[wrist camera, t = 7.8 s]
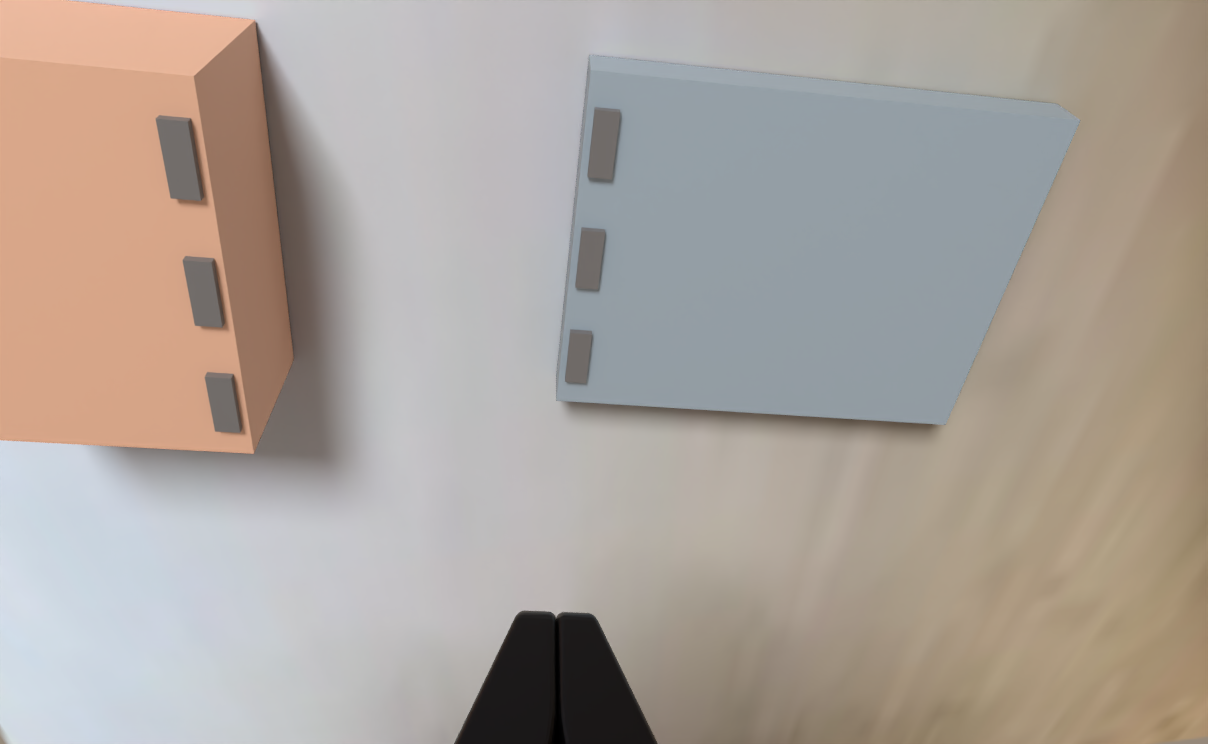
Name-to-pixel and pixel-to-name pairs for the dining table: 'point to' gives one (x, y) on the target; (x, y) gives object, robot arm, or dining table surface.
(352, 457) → the dining table surface
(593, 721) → the robot arm
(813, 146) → the blue-grey flat panel
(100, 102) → the stub
